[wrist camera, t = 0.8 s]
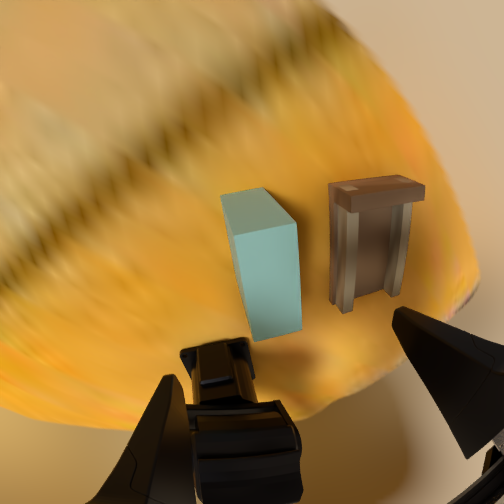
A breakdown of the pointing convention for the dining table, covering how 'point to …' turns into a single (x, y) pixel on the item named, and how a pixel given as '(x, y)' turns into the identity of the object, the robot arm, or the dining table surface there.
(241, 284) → the pale teal rectangular prism
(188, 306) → the dining table surface
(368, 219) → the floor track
